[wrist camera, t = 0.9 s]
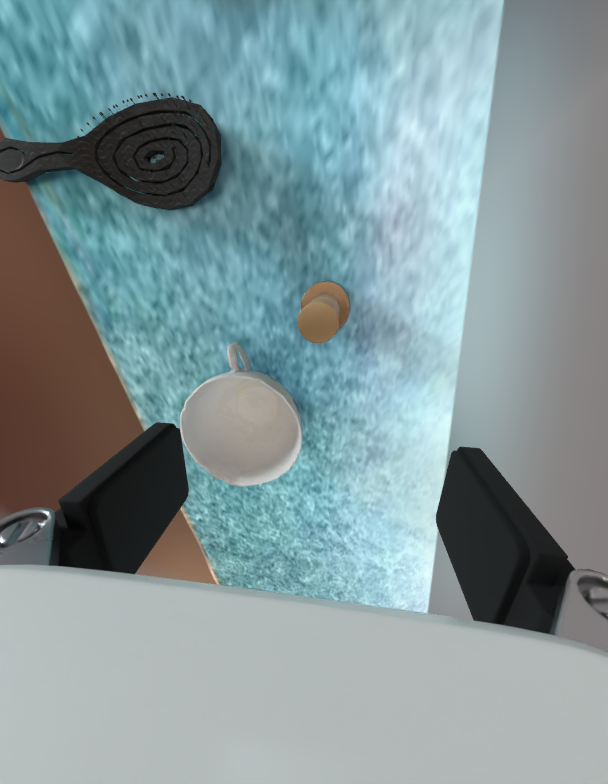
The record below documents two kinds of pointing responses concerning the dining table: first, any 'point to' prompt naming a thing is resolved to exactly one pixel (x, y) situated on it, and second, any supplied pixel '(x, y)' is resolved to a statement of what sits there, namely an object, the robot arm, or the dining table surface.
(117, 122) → the hairbrush
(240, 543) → the dining table surface
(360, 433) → the dining table surface
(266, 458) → the teacup
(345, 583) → the dining table surface
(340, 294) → the dish brush
